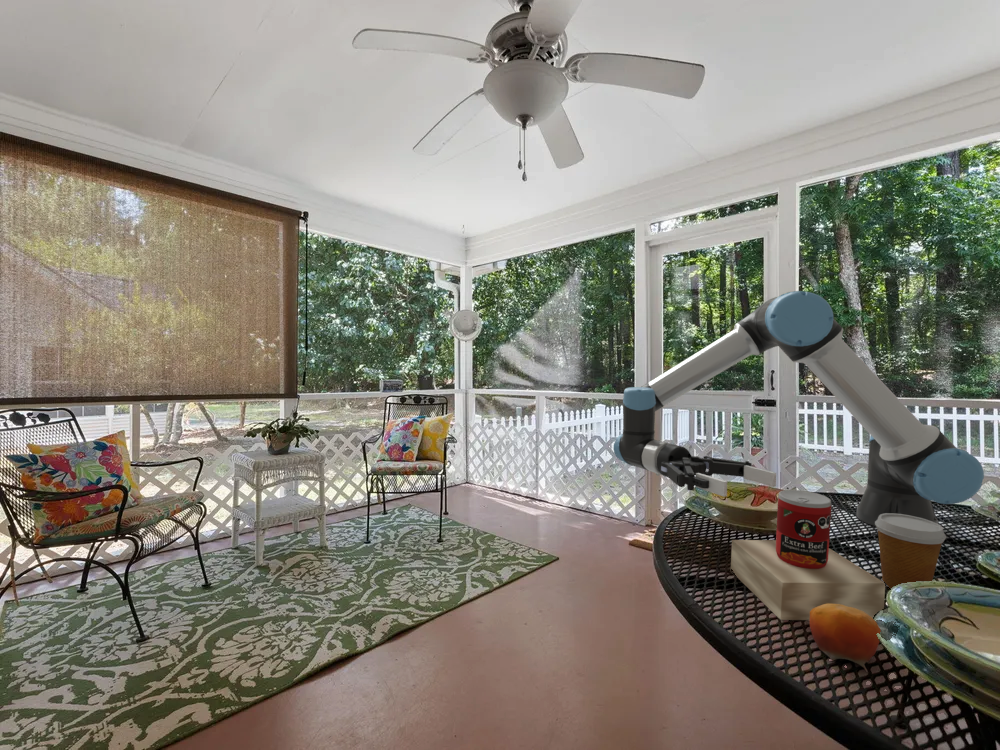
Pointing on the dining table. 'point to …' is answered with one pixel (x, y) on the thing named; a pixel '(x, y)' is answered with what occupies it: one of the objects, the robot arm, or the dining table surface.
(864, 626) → the fruit
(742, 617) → the dining table surface
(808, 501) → the canned food
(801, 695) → the dining table surface
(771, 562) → the birch block
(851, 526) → the dining table surface
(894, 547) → the disposable coffee cup
